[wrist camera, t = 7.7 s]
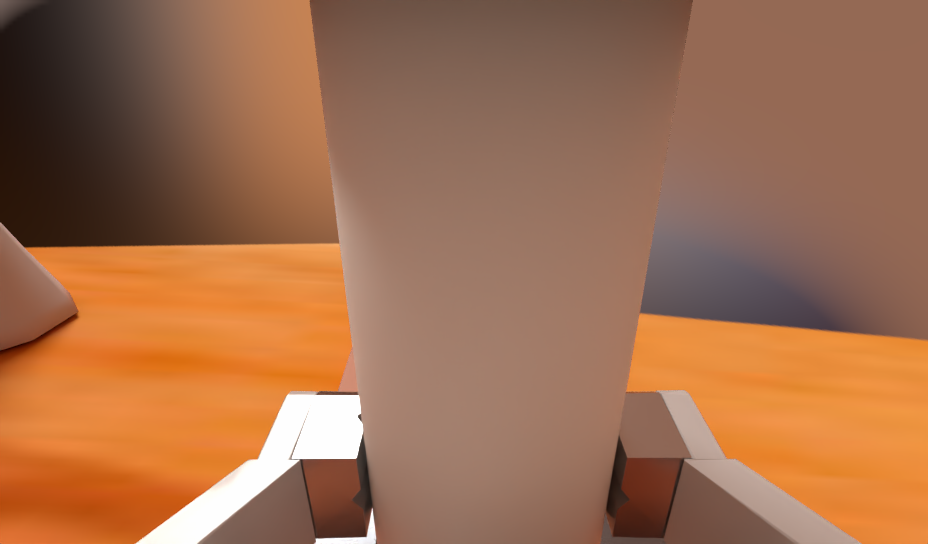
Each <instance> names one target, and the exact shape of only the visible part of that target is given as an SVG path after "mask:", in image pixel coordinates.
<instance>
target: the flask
mask: <svg viewBox="0 0 928 544" xmlns="http://www.w3.org/2000/svg"><path fill="white" fill-rule="evenodd" d="M77 312H79V311H78V309H77V307H76V305H75V303H74V301H73V299H72V297H71V295H70V293H69V292H68V291H67V290H66V289H65V288H64V287H63V286H62V285H61V284H60V283H59V281H58V280H56V279H55V278H54V277H53V276H52V275H51V274H50V273H49V272H48V271H47V270H46V269H45V268H44V267H43V266H42V265H41V264H40V263H39V262H38V261H37V260H36V259H35V258H34V257H33V256H32V255H31V254H30V253H29V252H28V251H27V250H26V249H25V248H24V247H23V246H22V245H21V244H20V243H19V242H18V241H17V240H16V238H15V237H14V236H13V235H12V234H11V233H10V232H9V231H8V230H7V229H6V228H5V227H4V226H3V225H2V224H1V223H0V350H3V349H7V348H10V347H13V346H16V345H19V344H22V343H26V342H29V341H32V340H34V339H36V338H37V337H39V336H41V335H42V334H44V333H45V332H47V331H48V330H50V329H52V328H53V327H55V326H56V325H58V324H60V323H61V322H63V321H64V320H66V319H68V318H69V317H71V316H72V315H74V314H76V313H77Z"/></svg>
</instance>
